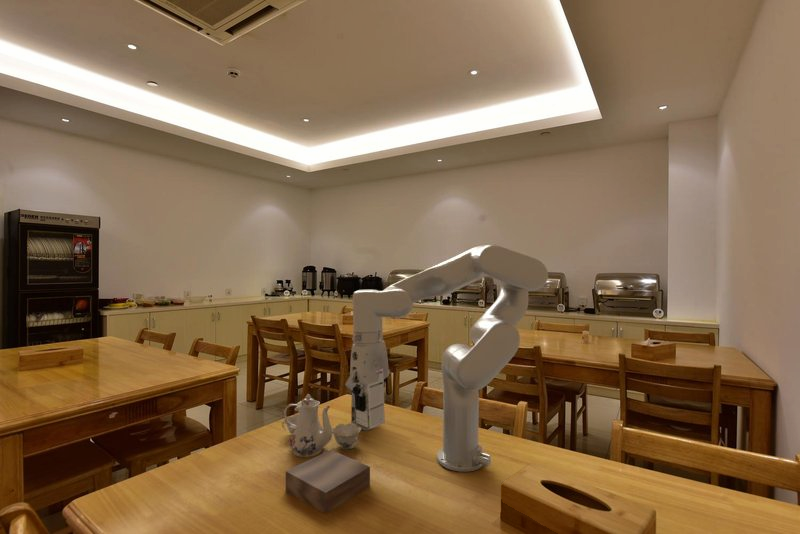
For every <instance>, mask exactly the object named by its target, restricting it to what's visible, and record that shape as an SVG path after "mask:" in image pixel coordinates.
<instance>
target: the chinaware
mask: <svg viewBox="0 0 800 534" xmlns="http://www.w3.org/2000/svg"><path fill="white" fill-rule="evenodd" d="M319 406H320V401H319V400H315V399H314V398H313V397H312V396H311V394H309V393H307V394H306V396H305V397H304V398H303V399H302V400H300V401H299V402H297V403H290V404H287V406H285V407H284V409H283V419H284V420H283V421H282V423H281V424H282V428H283V429H284V430H285V431H288V432H289V433H290V434H291V436H290V438H289V440H288V443H287V445H288V448H290V449H291V450H292V454H293V455H294V456H296V457H298V458H312V457H316V456H318V455H320V454H322V452H323V451H324V447H327V445H328V444H329V443H330V442H331V441H332V438H333V437H334V439H335V442H336V443H337V444H338V445H339V446H341V448H340V449H341V450H342V449H344V450H348V449H353V448H354V449H357V448H358V445H359V439H358V438H359V434H360V433H361V431H362V430H361V429H362V428H361V427H358V426H357V425H356V424H354V423H351V422H349V423H347V424H344V423H340V424H339V423H338V424H336V425H335V426H334V428H333V427H332V425H331V422H330V417H329V415H328V410H329V409H330V407H331V406H330V405H327V406H325V407H323V410H322V414H321V416H322V417H321V418H322V426H321V423H320V420H319ZM290 407H294V411H295V412H298V413H296V414H294V415H292V416H289V415H288V416H287V411H288V408H290ZM284 423H285V425H286V427H287V428H286V427H285V425H284ZM354 444H356V445H354Z"/></svg>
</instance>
